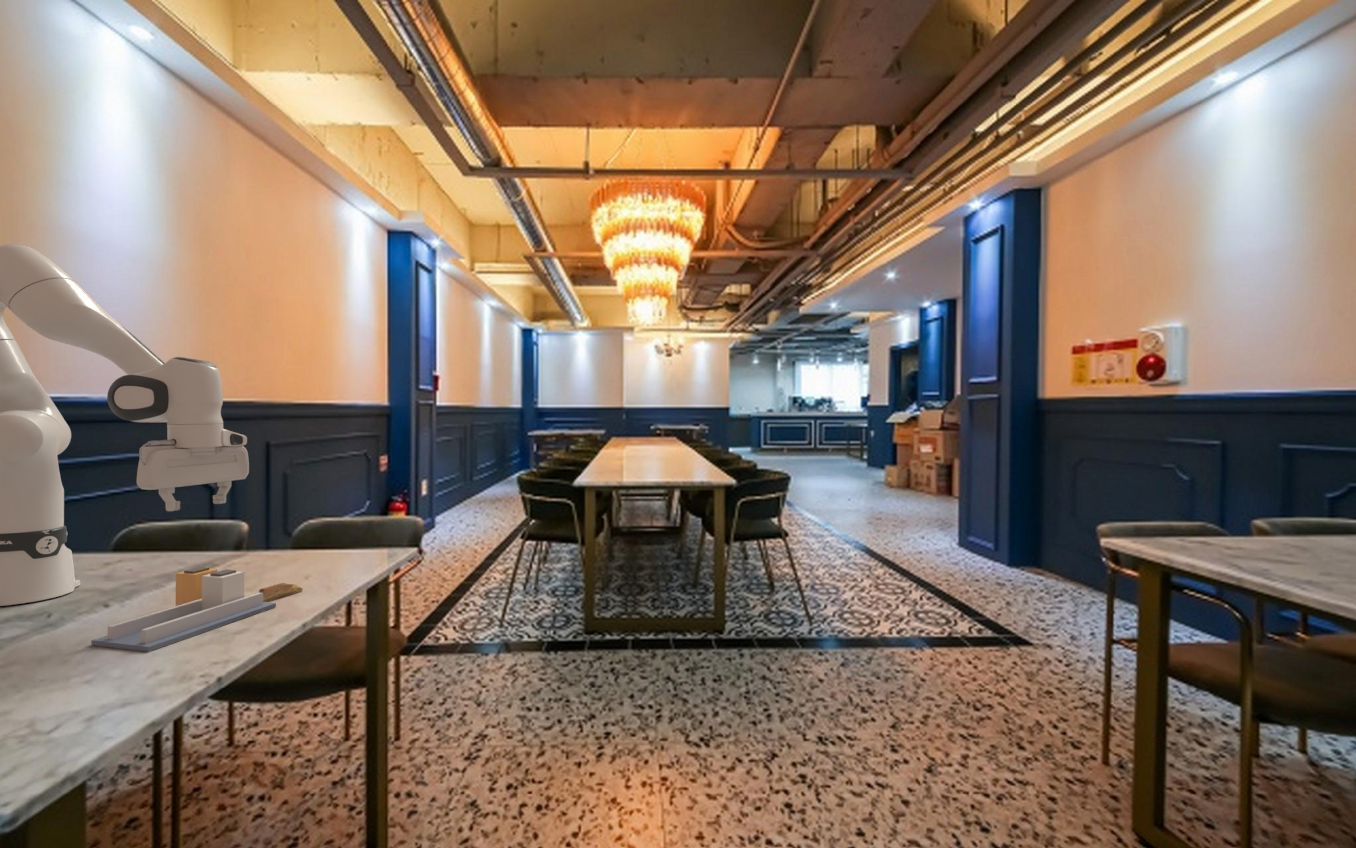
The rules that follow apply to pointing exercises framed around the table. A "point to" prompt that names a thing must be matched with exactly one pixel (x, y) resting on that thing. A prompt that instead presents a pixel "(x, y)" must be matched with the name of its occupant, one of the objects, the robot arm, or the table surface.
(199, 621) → the rail panel
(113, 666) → the table surface
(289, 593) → the shard
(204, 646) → the table surface
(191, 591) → the block
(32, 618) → the table surface
